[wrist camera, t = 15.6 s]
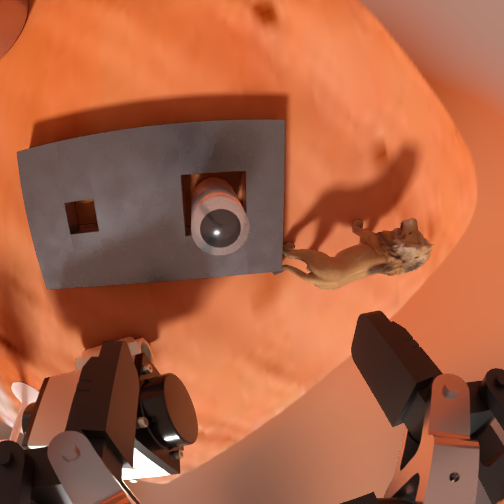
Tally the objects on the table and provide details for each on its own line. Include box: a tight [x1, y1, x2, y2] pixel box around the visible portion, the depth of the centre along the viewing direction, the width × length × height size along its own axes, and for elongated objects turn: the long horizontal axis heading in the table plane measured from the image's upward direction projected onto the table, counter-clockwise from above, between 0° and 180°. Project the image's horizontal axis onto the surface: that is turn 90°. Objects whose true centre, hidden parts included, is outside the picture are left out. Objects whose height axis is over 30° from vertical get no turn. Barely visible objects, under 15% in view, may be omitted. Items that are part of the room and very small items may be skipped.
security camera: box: [22, 337, 198, 482], centre depth 26 cm, size 18×8×18 cm, turn 108°
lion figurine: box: [273, 218, 433, 290], centre depth 28 cm, size 15×5×9 cm, turn 113°
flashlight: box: [191, 178, 250, 255], centre depth 24 cm, size 4×4×8 cm
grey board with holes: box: [17, 119, 285, 289], centre depth 26 cm, size 14×24×2 cm, turn 91°
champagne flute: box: [0, 382, 39, 442], centre depth 24 cm, size 7×7×24 cm
